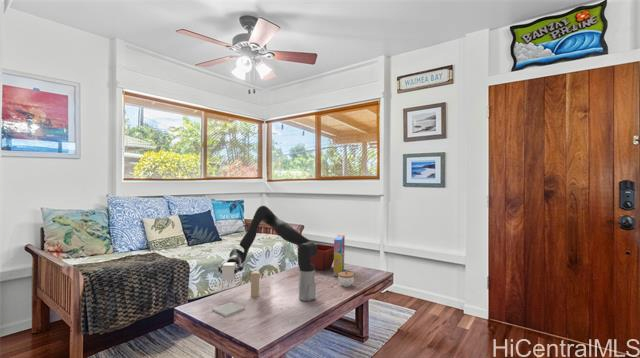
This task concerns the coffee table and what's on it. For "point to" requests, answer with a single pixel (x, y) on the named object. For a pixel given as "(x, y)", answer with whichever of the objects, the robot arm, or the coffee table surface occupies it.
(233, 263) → the white rectangular block
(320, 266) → the plant pot
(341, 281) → the lidded jar
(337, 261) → the game box
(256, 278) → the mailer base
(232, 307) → the grey mat
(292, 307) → the coffee table surface
